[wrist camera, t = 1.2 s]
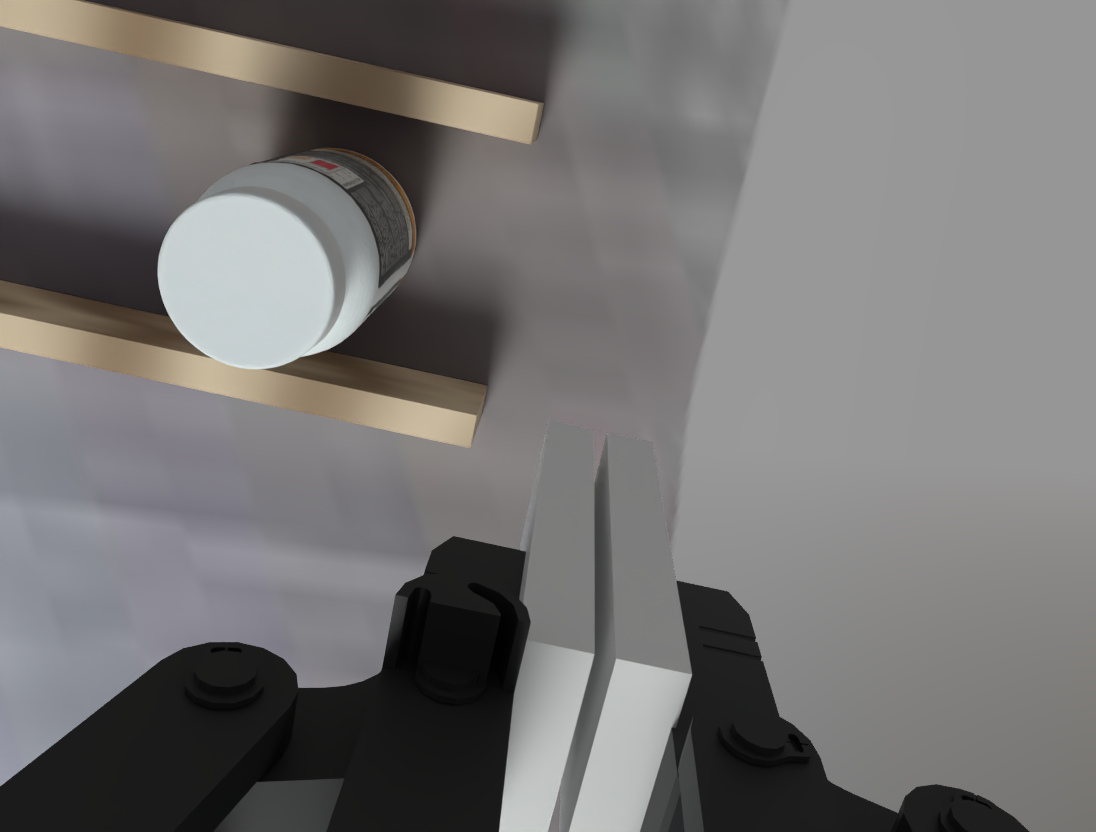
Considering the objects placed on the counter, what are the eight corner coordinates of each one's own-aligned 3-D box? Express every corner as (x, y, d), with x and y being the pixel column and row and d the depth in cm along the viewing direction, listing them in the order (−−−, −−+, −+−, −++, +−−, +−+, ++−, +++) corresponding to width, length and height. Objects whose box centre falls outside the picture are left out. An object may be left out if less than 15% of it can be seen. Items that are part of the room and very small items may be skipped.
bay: (-165, 276, 35) (-283, 304, 31) (-176, -59, 32) (-312, -86, 27) (481, 415, 36) (464, 464, 31) (544, 103, 32) (535, 104, 27)
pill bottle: (273, 128, 33) (145, 142, 24) (434, 169, 33) (372, 199, 24) (250, 287, 35) (123, 359, 25) (404, 325, 35) (335, 410, 26)
